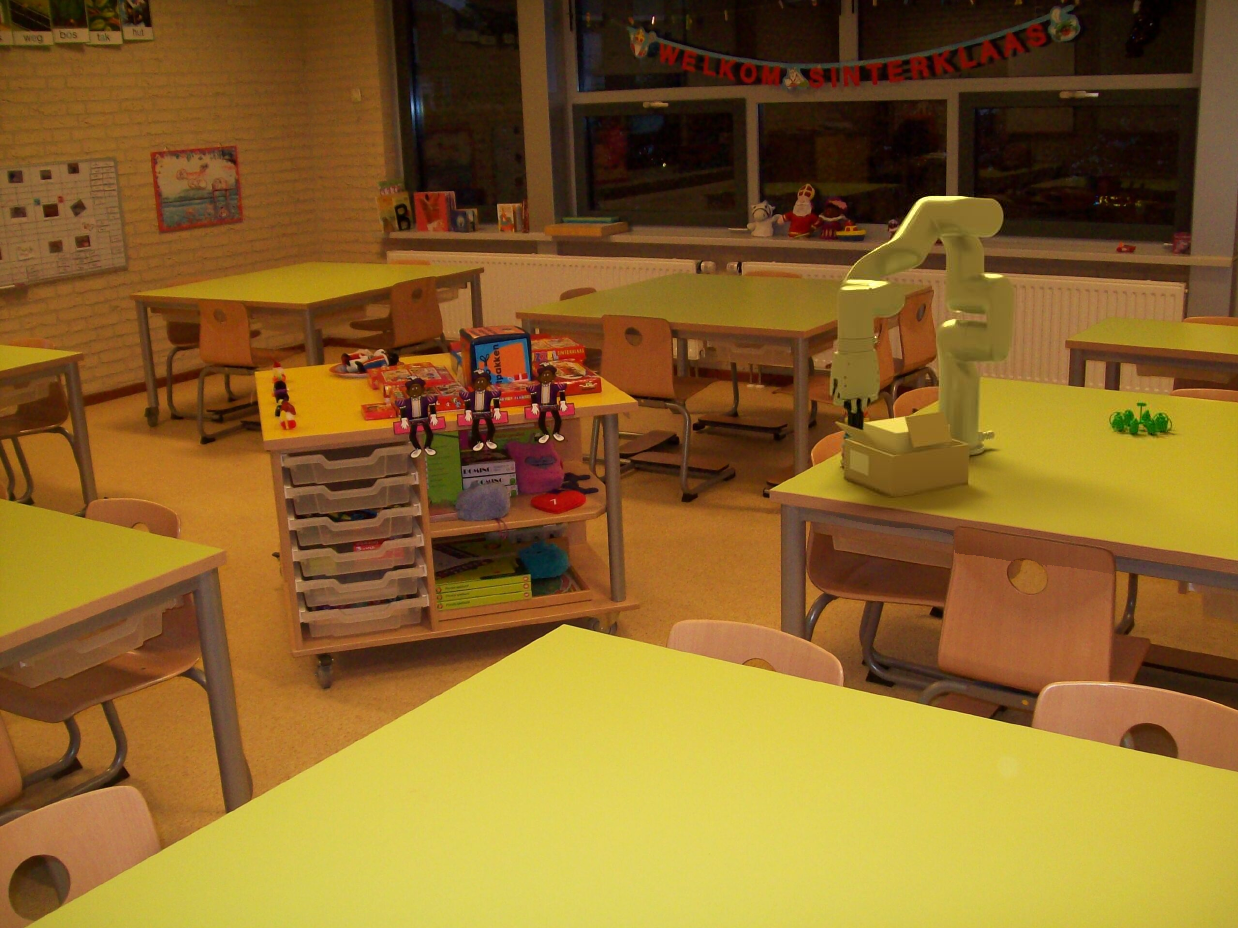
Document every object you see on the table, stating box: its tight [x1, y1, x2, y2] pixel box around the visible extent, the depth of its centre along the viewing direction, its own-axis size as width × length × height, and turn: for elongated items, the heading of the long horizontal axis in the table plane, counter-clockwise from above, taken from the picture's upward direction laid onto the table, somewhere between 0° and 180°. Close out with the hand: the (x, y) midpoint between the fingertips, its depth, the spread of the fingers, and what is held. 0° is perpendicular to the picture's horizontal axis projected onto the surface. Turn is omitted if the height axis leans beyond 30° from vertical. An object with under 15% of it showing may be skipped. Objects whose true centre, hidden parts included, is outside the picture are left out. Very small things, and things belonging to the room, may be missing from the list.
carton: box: [843, 414, 970, 498], centre depth 269 cm, size 21×19×13 cm
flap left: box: [904, 411, 952, 448], centre depth 262 cm, size 10×7×1 cm
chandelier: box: [1108, 402, 1173, 436], centre depth 308 cm, size 15×15×7 cm
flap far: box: [835, 421, 882, 449], centre depth 263 cm, size 10×7×1 cm
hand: (855, 429), depth 262 cm, fingers closed
